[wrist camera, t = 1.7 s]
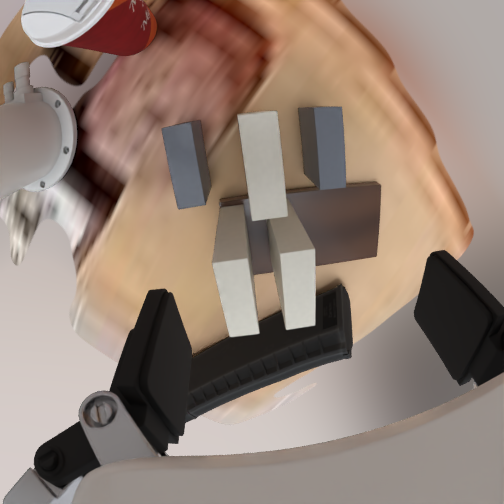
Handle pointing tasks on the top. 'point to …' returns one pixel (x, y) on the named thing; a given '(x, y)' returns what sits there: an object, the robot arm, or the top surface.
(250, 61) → the top surface
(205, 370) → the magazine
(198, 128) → the grey book
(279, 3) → the top surface
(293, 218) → the white book
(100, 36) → the paper cup
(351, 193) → the shelf board
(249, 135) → the white book
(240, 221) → the white book
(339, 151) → the grey book
